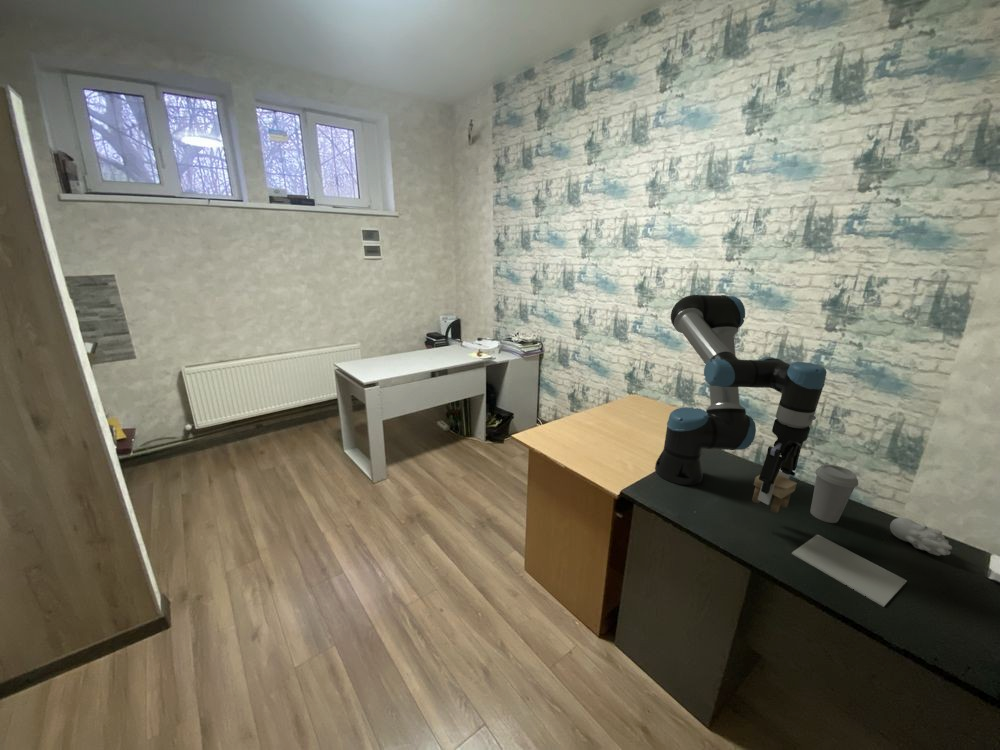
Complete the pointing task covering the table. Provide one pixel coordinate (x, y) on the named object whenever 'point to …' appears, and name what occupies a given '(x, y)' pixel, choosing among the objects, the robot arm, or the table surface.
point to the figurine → (920, 536)
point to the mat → (850, 569)
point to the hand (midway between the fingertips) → (770, 497)
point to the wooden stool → (776, 492)
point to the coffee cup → (832, 492)
